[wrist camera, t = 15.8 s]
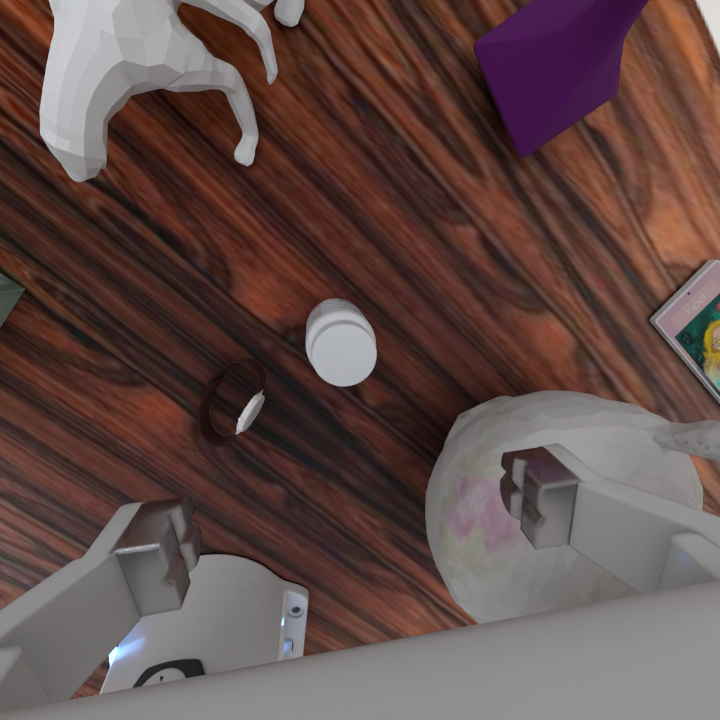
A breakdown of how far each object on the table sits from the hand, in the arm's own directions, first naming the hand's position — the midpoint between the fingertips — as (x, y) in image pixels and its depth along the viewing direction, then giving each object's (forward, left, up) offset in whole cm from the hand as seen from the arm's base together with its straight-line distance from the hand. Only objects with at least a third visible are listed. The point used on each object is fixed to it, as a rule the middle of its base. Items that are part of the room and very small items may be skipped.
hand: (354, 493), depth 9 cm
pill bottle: (0, -1, -21) cm, 21 cm away
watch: (-5, +8, -21) cm, 24 cm away
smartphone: (-5, -37, -21) cm, 43 cm away
